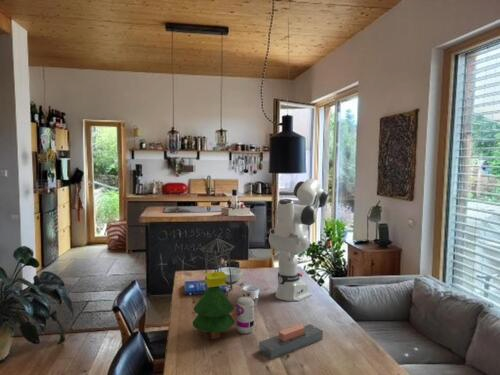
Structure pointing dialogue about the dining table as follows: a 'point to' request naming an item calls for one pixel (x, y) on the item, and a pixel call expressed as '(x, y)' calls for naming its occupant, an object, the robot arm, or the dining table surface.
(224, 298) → the decorative tree
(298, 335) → the pink notched block
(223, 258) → the geometric lantern
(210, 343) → the dining table surface
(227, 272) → the cereal bowl
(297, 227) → the robot arm
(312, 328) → the rail
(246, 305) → the supplement can
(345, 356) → the dining table surface
